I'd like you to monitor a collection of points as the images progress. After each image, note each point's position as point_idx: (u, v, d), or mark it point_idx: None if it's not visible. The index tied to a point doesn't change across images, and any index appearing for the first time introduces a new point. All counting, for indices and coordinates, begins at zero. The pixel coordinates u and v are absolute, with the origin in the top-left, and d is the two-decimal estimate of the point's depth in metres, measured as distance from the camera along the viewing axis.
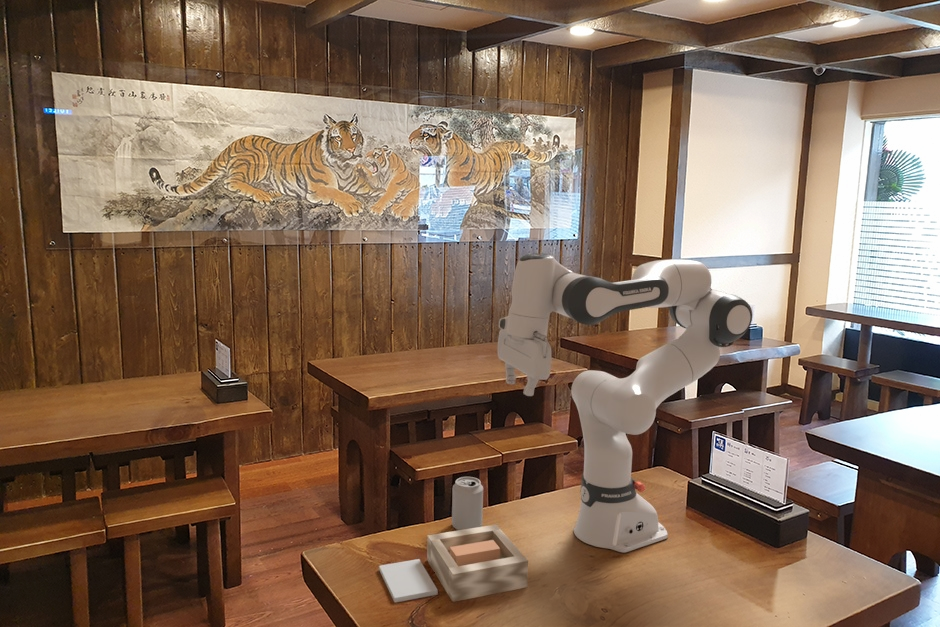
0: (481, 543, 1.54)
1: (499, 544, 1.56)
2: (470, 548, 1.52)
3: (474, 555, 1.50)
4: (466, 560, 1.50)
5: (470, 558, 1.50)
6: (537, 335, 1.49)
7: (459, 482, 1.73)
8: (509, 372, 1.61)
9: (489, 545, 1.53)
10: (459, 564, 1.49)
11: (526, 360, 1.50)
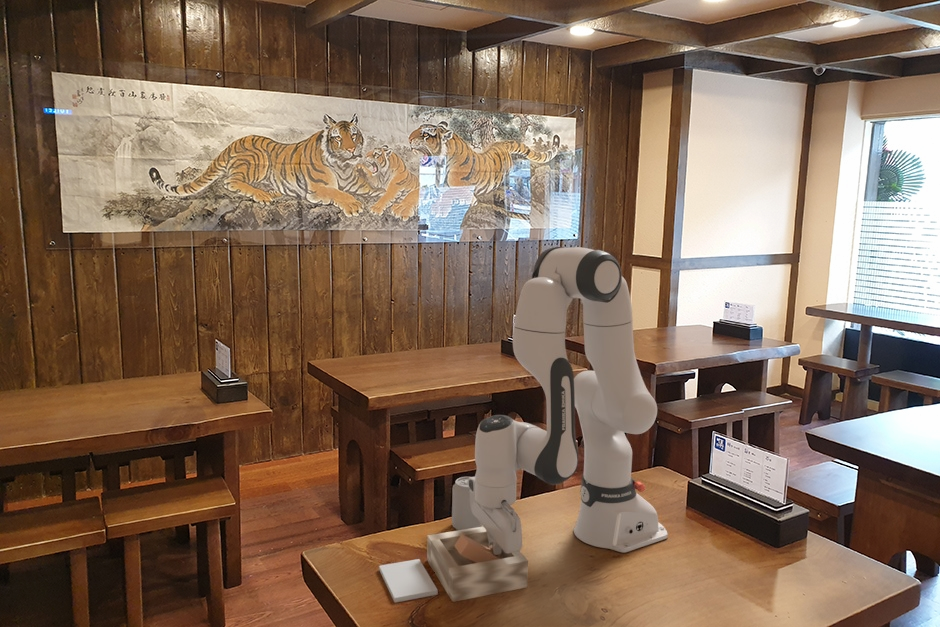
0: (487, 548, 1.55)
1: None
2: (478, 545, 1.52)
3: (481, 552, 1.51)
4: (473, 552, 1.50)
5: (476, 552, 1.50)
6: (505, 506, 1.46)
7: (459, 482, 1.73)
8: (491, 538, 1.55)
9: None
10: (465, 552, 1.49)
11: (497, 531, 1.47)
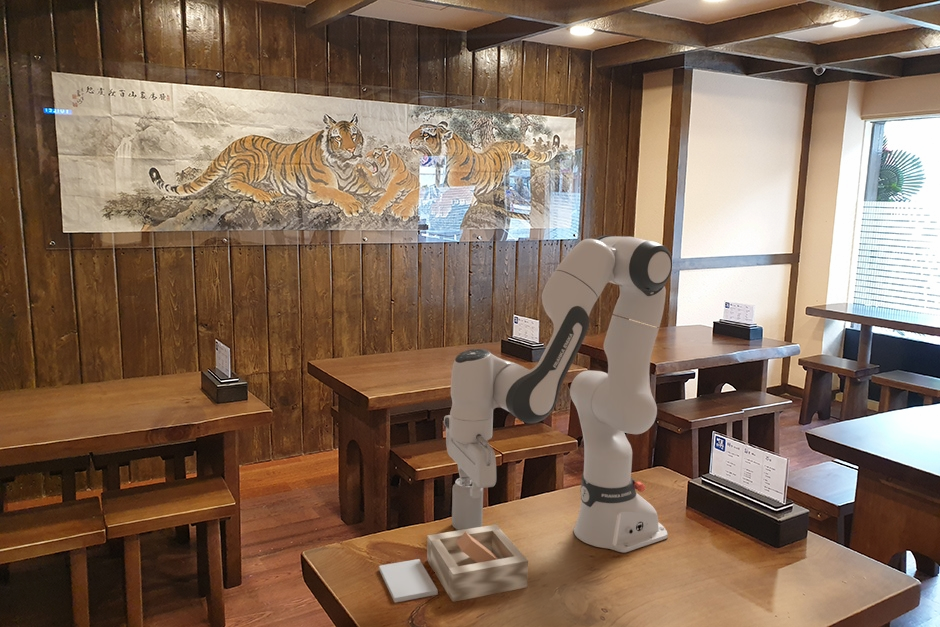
0: None
1: (499, 544, 1.56)
2: (480, 545, 1.52)
3: (483, 552, 1.51)
4: (475, 551, 1.50)
5: (478, 551, 1.50)
6: (479, 440, 1.41)
7: (459, 482, 1.73)
8: (462, 473, 1.52)
9: (494, 555, 1.54)
10: (468, 549, 1.49)
11: (471, 466, 1.42)
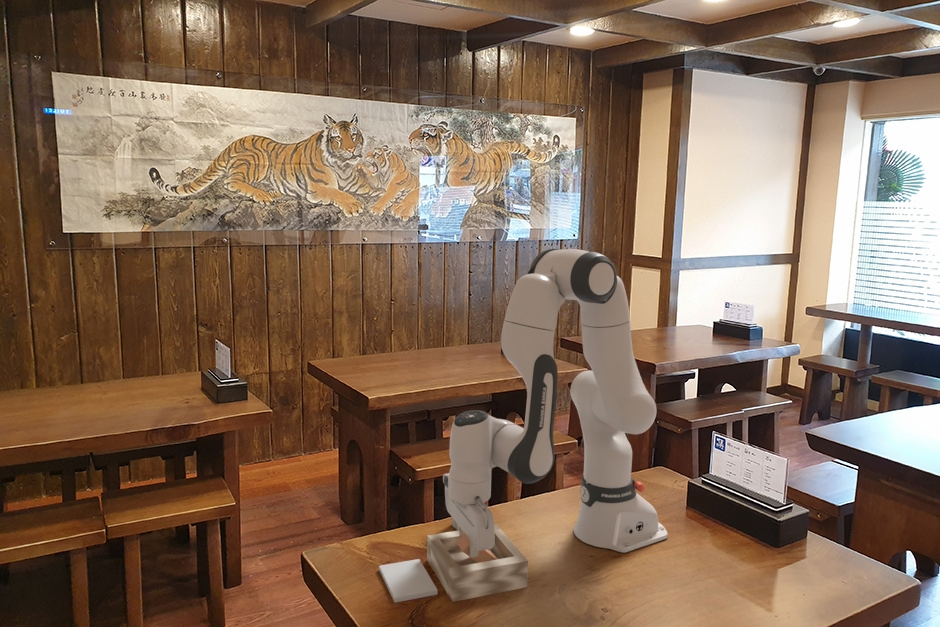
0: None
1: (499, 544, 1.56)
2: None
3: (483, 552, 1.51)
4: None
5: None
6: (478, 503, 1.43)
7: None
8: (462, 532, 1.54)
9: (494, 555, 1.54)
10: None
11: (470, 528, 1.45)
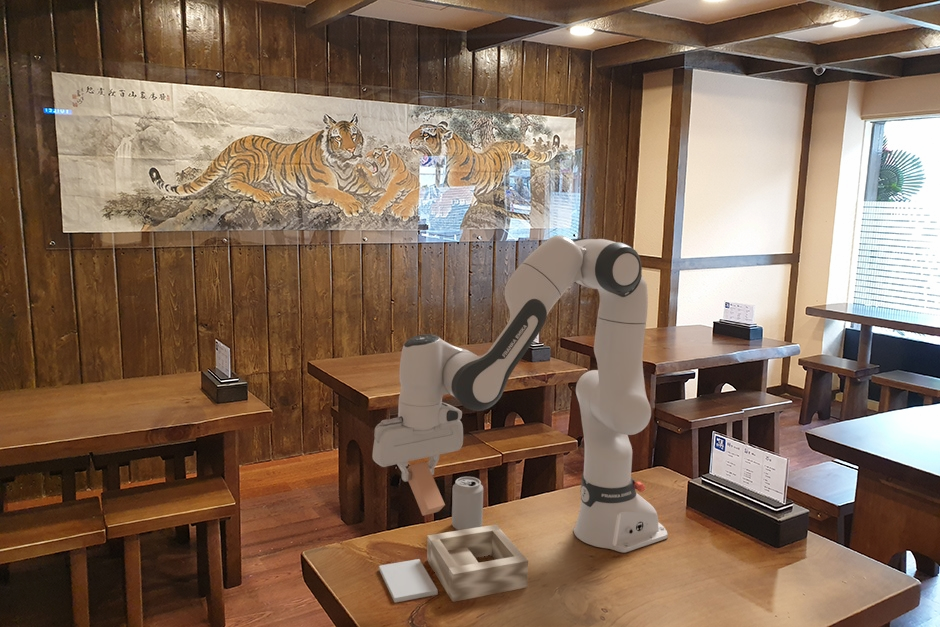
0: (437, 492, 1.45)
1: (499, 544, 1.56)
2: (424, 479, 1.46)
3: (416, 484, 1.45)
4: None
5: (413, 481, 1.46)
6: None
7: (459, 482, 1.73)
8: (430, 462, 1.50)
9: (434, 499, 1.44)
10: None
11: None
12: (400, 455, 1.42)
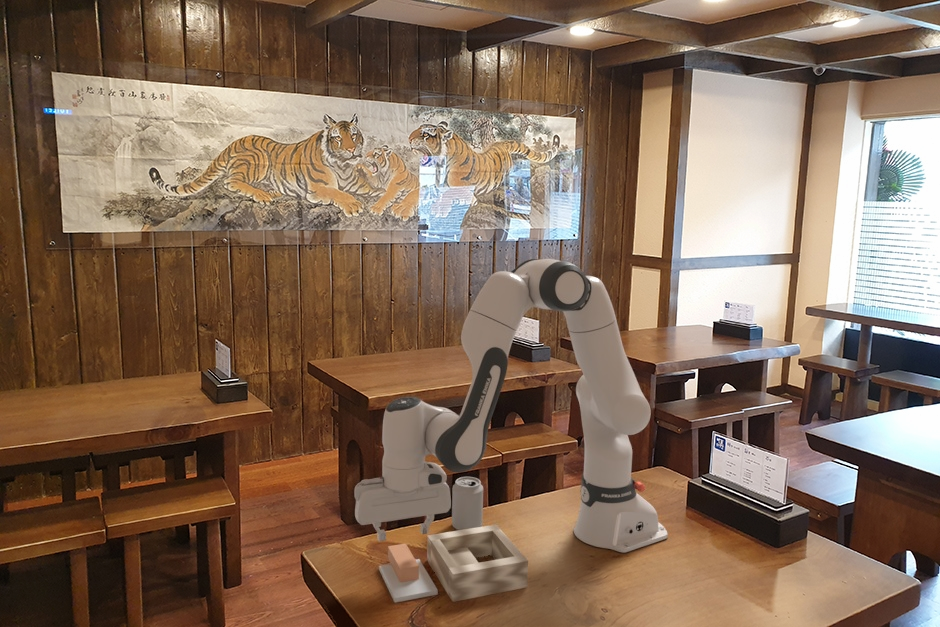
0: (412, 559, 1.51)
1: (499, 544, 1.56)
2: (401, 553, 1.53)
3: (393, 557, 1.52)
4: (390, 557, 1.54)
5: (391, 557, 1.53)
6: None
7: (459, 482, 1.73)
8: (426, 521, 1.53)
9: (408, 563, 1.49)
10: (389, 556, 1.56)
11: None
12: (379, 515, 1.46)
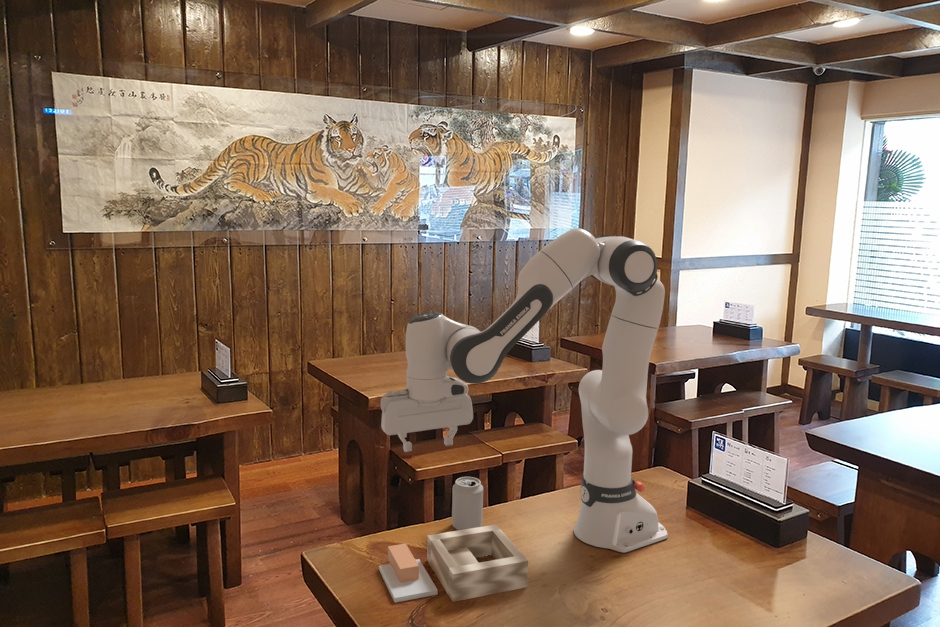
0: (412, 559, 1.51)
1: (499, 544, 1.56)
2: (401, 553, 1.53)
3: (393, 557, 1.52)
4: (390, 557, 1.54)
5: (391, 557, 1.53)
6: None
7: (459, 482, 1.73)
8: (449, 433, 1.58)
9: (408, 563, 1.49)
10: (389, 556, 1.56)
11: None
12: (405, 425, 1.52)
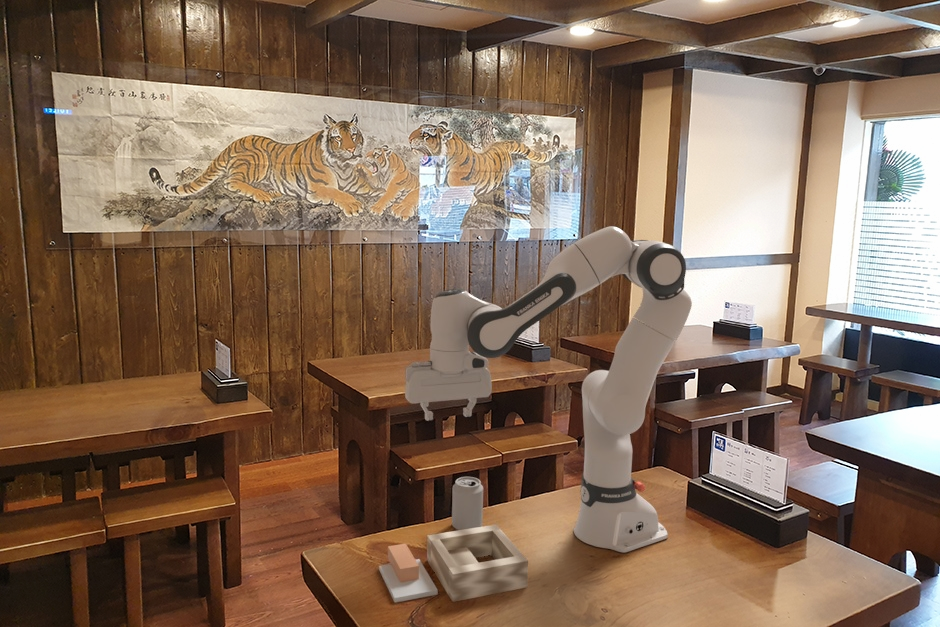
0: (412, 559, 1.51)
1: (499, 544, 1.56)
2: (401, 553, 1.53)
3: (393, 557, 1.52)
4: (390, 557, 1.54)
5: (391, 557, 1.53)
6: None
7: (459, 482, 1.73)
8: (468, 405, 1.67)
9: (408, 563, 1.49)
10: (389, 556, 1.56)
11: None
12: (427, 395, 1.60)
